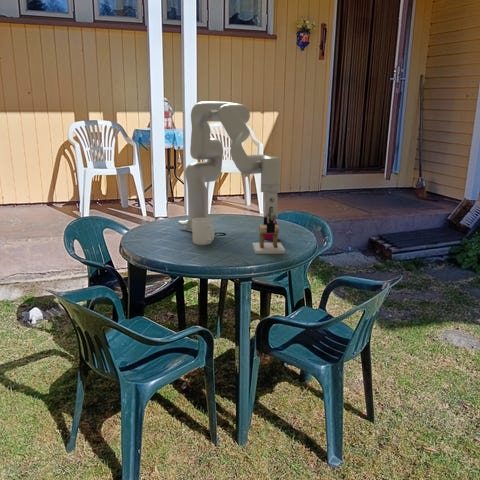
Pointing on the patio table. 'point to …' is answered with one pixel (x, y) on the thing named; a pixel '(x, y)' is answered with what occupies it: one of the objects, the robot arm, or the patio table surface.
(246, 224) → the patio table surface
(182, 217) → the patio table surface
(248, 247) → the patio table surface
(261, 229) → the pegged wooden block
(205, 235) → the cup
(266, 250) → the tile
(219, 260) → the patio table surface
